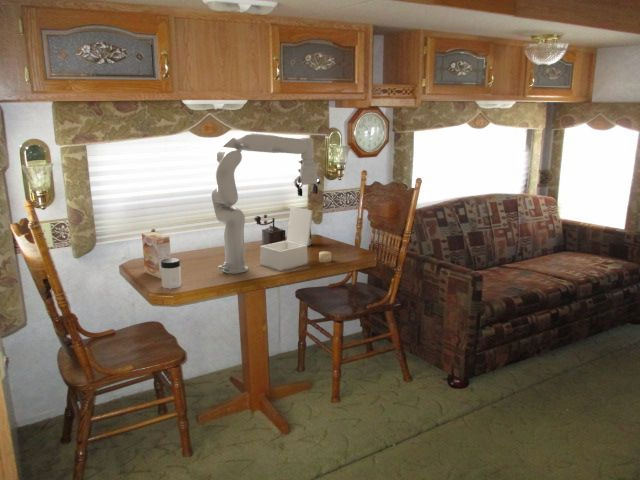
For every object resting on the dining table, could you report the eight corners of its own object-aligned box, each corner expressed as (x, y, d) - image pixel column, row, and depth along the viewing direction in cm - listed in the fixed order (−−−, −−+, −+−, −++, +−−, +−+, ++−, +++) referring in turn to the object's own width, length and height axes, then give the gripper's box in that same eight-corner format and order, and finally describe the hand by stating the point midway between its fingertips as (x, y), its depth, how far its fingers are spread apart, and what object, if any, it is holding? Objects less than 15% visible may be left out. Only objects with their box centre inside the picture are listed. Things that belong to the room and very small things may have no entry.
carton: (280, 271, 266) (280, 251, 263) (260, 264, 277) (259, 246, 275) (307, 264, 278) (307, 245, 276) (286, 258, 289) (286, 240, 287)
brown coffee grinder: (276, 242, 326) (275, 213, 322) (286, 245, 318) (285, 215, 314) (253, 246, 317) (252, 216, 313) (263, 249, 309) (262, 218, 305)
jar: (165, 290, 238) (163, 264, 235) (159, 285, 244) (157, 260, 242) (184, 286, 243) (183, 260, 240) (178, 282, 249) (176, 257, 247)
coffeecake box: (144, 272, 265) (141, 233, 261) (157, 269, 270) (154, 231, 265) (159, 278, 255) (156, 238, 250) (172, 275, 260) (170, 236, 255)
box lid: (311, 210, 274) (312, 210, 275) (290, 206, 285) (292, 207, 286) (306, 246, 276) (308, 246, 277) (286, 241, 287) (288, 241, 288)
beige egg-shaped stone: (325, 263, 280) (325, 255, 279) (316, 261, 284) (316, 252, 283) (333, 261, 284) (333, 252, 283) (325, 258, 289) (325, 250, 288)
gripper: (296, 164, 272) (298, 197, 276) (324, 161, 282) (325, 193, 286) (288, 163, 278) (290, 195, 282) (316, 160, 287) (316, 192, 292)
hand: (307, 194), depth 284 cm, fingers open, 9 cm apart
